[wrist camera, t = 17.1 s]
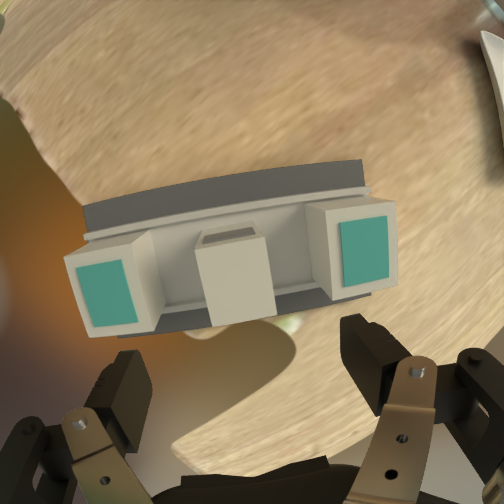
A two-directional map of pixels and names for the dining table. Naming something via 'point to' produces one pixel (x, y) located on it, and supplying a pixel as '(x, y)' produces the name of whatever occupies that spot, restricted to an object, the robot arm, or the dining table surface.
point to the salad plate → (495, 68)
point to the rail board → (224, 213)
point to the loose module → (235, 273)
